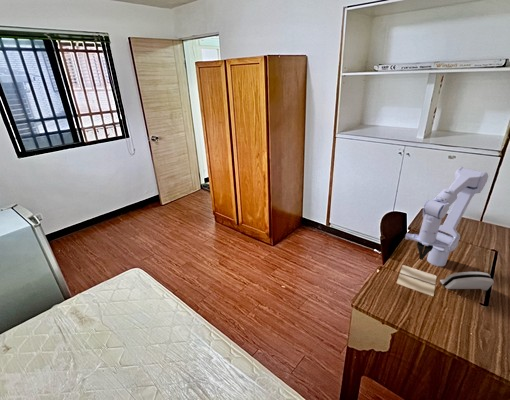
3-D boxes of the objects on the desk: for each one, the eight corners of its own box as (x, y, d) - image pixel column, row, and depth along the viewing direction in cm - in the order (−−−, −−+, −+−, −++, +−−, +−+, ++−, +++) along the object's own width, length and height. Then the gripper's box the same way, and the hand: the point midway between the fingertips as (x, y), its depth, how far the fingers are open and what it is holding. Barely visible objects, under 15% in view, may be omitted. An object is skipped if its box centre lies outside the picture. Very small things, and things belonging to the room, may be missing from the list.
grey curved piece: (478, 281, 113) (492, 268, 106) (485, 292, 109) (500, 279, 102) (437, 281, 113) (448, 269, 106) (442, 292, 110) (455, 280, 103)
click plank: (398, 276, 117) (399, 273, 116) (434, 288, 110) (435, 285, 109) (395, 285, 111) (396, 283, 111) (432, 298, 104) (433, 296, 104)
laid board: (402, 267, 122) (402, 264, 121) (435, 278, 115) (436, 275, 114) (399, 275, 117) (399, 273, 116) (434, 287, 110) (435, 285, 109)
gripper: (406, 228, 107) (400, 257, 113) (451, 240, 99) (441, 269, 105) (409, 221, 112) (403, 248, 118) (452, 231, 104) (442, 260, 110)
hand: (421, 258), depth 112 cm, fingers closed
